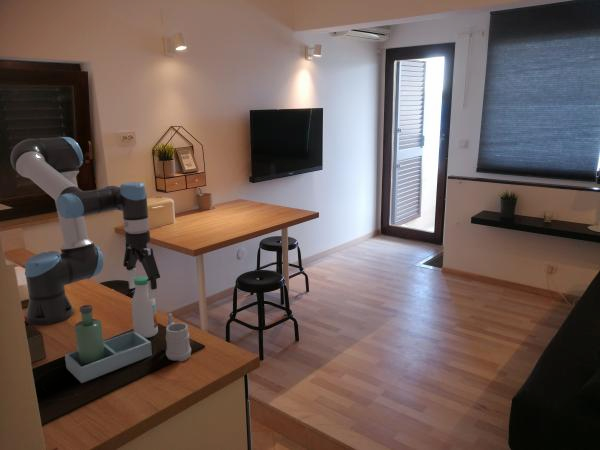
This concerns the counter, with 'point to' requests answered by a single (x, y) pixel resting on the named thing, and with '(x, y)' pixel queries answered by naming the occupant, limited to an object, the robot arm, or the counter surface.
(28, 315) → the robot arm
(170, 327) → the mug
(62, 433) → the counter surface
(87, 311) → the green bottle
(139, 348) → the crate
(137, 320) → the milk bottle
